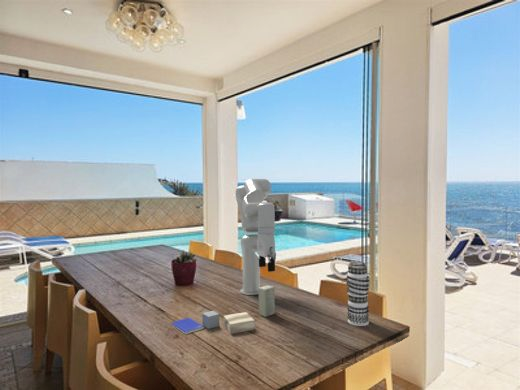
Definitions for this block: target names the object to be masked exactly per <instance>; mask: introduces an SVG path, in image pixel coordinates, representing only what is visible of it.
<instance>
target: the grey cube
mask: <svg viewBox="0 0 520 390" xmlns="http://www.w3.org/2000/svg"><path fill="white" fill-rule="evenodd" d="M201 319H202V326H204V328H206V329H208V330H211V329H214V328H217V327H220V313H218V311H215V310H209V311H205V312H202V318H201Z"/></svg>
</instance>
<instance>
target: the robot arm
mask: <svg viewBox="0 0 520 390" xmlns="http://www.w3.org/2000/svg"><path fill="white" fill-rule="evenodd" d="M271 191H272V185H271V182H270V180H268V179H266V178H250V179H247V180H246V181H245V182H244V184H243V185H240V186H238V187H237V188H236V189H235V200H236V202H237V205H238V208H239V210H240V221H241V229H242V231H243V232H244V233H245V234H247V235H243V236H242V237H241V238H240V247H241V255H242V258H241V259H242V288H241V289H240V290H239V293H240V294H241V295H245V296H255V295H257V296H258V295H259V291H258V288H259V287H261V268H265V267H266V265H267V272H269V273H270V272H275V271H276V257H277V252H276V242H275V241H276V240H275V234H276V231H275V230H276V229H275V227H276V226H275V225H276V223H275V220H276V219H275V218H276V217H275V210H276V209H275V205H274V203H271V202H268V201H267V202H263V200H265V199H266V198H267V197H268V196H269V195H270V194H271ZM256 253H257V254H256ZM266 261H268V262H266Z"/></svg>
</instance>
